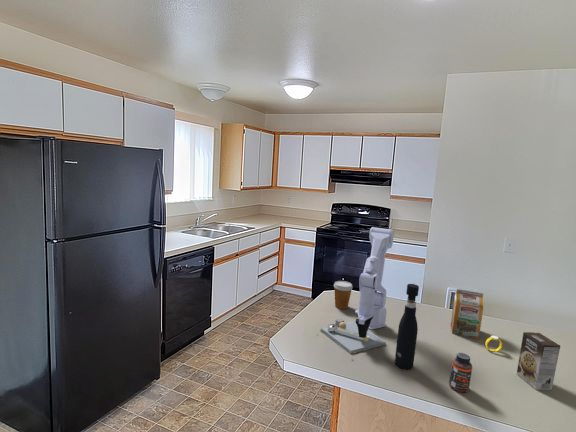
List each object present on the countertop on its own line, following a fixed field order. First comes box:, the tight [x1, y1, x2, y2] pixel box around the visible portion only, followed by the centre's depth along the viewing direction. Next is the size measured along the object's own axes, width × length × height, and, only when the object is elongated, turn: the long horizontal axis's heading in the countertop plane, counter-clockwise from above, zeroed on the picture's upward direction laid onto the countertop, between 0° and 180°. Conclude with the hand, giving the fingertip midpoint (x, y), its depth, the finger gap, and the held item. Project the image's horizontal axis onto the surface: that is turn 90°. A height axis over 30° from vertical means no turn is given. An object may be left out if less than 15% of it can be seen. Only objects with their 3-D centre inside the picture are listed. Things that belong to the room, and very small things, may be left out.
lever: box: [327, 323, 367, 341], centre depth 144 cm, size 16×4×5 cm, turn 62°
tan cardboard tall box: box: [450, 288, 484, 340], centre depth 156 cm, size 11×11×19 cm
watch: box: [484, 335, 503, 353], centre depth 141 cm, size 6×3×6 cm, turn 86°
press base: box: [320, 318, 387, 355], centre depth 145 cm, size 18×20×4 cm
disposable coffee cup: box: [333, 280, 353, 310], centre depth 176 cm, size 10×10×12 cm
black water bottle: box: [394, 283, 420, 371], centre depth 124 cm, size 6×6×30 cm
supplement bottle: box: [448, 352, 473, 393], centre depth 114 cm, size 6×6×11 cm
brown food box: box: [516, 331, 561, 391], centre depth 120 cm, size 9×6×16 cm
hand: (363, 334), depth 142 cm, fingers open, 5 cm apart
